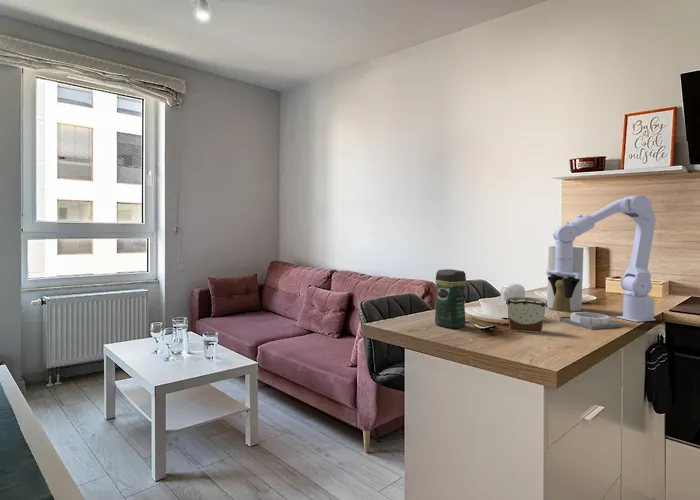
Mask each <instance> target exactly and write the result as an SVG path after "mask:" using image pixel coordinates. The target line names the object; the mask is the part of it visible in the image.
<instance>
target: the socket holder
mask: <svg viewBox="0 0 700 500" xmlns="http://www.w3.org/2000/svg"><path fill="white" fill-rule="evenodd" d="M559 322H561V323H564V324H569V325H573V326H576V327H581V328H584V329H589V330H601V329H612V328H622V325H623V324H622V323H619V322H616V321H612V320H611V316H610V315H608V314H603V313H599V312H589V311H575V312H571V313H570V317H563V318H559Z"/></svg>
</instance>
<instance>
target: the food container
mask: <svg viewBox="0 0 700 500" xmlns="http://www.w3.org/2000/svg"><path fill="white" fill-rule="evenodd" d="M506 304H507V306H508V318H509V319H508V324H509V325H508V326H509V331H512V332H526V333H538V334H539V333H541V334H542V333H543V327H544V320H545V314H546V308H547V309H549V308H548V306H547V299H544V298H537V297H529V296H525V297H510V298H507V300H506ZM506 304H505V305H506Z"/></svg>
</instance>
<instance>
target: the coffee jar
mask: <svg viewBox="0 0 700 500" xmlns="http://www.w3.org/2000/svg"><path fill="white" fill-rule="evenodd" d="M466 276H467V274H466V272H465V271H464V270H459V269H458V270H457V269H451V268H447V269H446V268H445V269H438V270H437V272H436V273H435V286H436V304H435V315H434V323H435V325H437V326H440V327H444V328H448V329H449V328H452V329H453V328H457V329H460V328H463V327H464V326H466V309H465V305H466V304H465V288H466V284H467V277H466Z"/></svg>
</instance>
